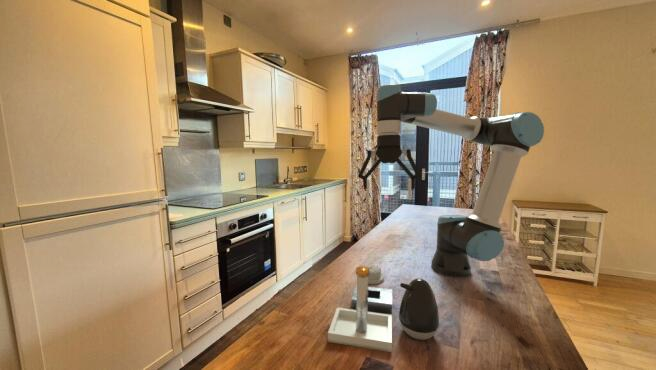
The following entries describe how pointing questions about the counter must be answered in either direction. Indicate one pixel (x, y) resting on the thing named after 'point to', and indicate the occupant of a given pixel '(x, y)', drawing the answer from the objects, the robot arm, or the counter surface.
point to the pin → (362, 298)
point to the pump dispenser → (419, 310)
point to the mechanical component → (374, 275)
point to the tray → (372, 339)
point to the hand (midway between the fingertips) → (388, 198)
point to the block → (376, 300)
